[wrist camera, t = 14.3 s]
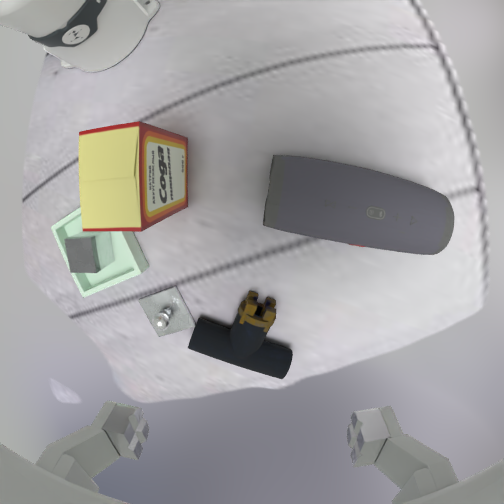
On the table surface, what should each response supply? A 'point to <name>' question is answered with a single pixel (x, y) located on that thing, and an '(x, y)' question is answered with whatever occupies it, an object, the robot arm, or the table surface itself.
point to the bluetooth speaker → (356, 206)
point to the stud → (167, 311)
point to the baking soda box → (131, 176)
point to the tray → (121, 269)
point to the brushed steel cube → (89, 251)
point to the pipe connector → (245, 339)
